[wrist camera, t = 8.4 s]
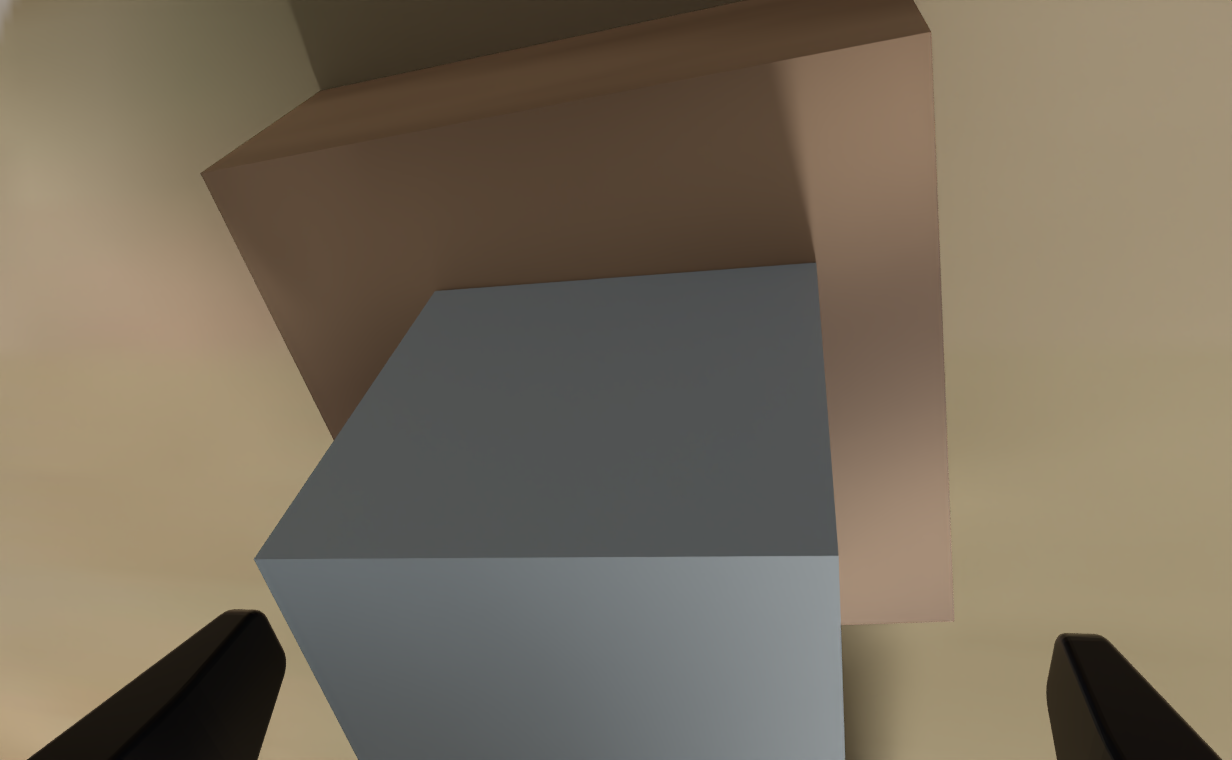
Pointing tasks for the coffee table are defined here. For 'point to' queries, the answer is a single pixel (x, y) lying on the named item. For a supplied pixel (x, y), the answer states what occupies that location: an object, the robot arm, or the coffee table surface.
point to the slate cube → (581, 529)
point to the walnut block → (644, 222)
